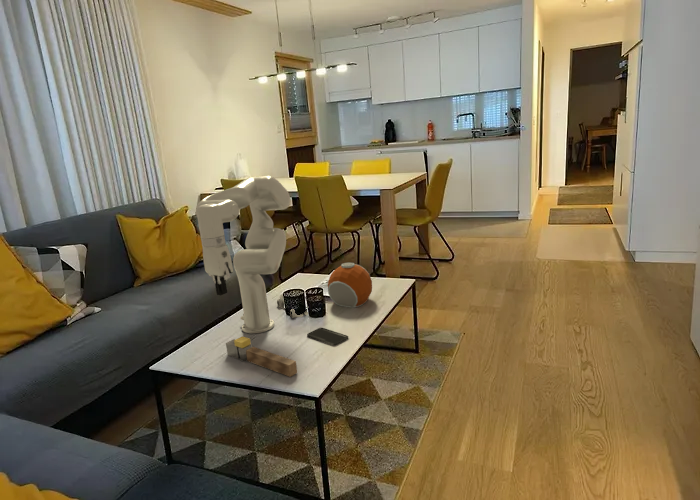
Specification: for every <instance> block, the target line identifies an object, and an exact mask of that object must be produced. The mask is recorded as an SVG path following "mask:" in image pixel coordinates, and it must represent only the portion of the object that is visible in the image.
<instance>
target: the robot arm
mask: <svg viewBox="0 0 700 500" xmlns="http://www.w3.org/2000/svg"><path fill="white" fill-rule="evenodd" d="M290 205H291V197H290V193H289V191H288V190H287V189H286V187H285V186H284V185H283V184H282V183H281V182H280V181H279V180H278V179H276V178H275V177H274V176H271V175H264V176H263V175H262V176H251V177H250V176H249V177H247V178H245V179H243V180H242V181H241V182H239V183H238V184H236V185H234V186H233V187H230V188H227V189H224V190H221V191H218V192H215V193H213V194H210V195H208V196H206V197H204V198H203V199H202V200H200V201H199V202H198V203H197V205H196V209H195V214H196V215H195V216H196V217H197V223H198V228H199V235H200V240H201V246H202V257H203V267H204V271H205V273H207V275H208V276H209V277H211V278H212V281H213V283H214V286H215V293H216V295H217V296H223V295H226V294H227V293H228V287H227V281H228V280H230V279H231V274H232V273H234V270H235V274H236V276H237V281H238V285H239V291H240V297H241V304H242V305H241V306H242V311H243V314H242V315H241V316H240V320H241V321H243V324H242V326H241V331H243V332H244V333H246V334H260V333H264V332H267V331H270V330H271V329H273V328H274V326H275V321H274V320H273V319H271V318H270V312H269V305H268V297H267V290H266V284H265V281H264V278H263V276H261V275H272V274H275V273H277V271H278V270H279V268H280V266H281V262H282V260H283V256H284V253H285V251H286V247H287V235H286V233H285V232H284V230H283V229H282V228H278V227H274V221H273V219H272V218H271V216H270V215H269V214H268V213H267V211H279V210H281V211H283V210H286V209H288V208H289V206H290ZM247 207H249V209H250V212H251V216H252V222H251V225H250V228H249V230H248V232H247V235H246V238H245V242H244V245H245V249H241V250H239V251H237V252H236V253H234V256H233V259H232V258H231V257H232V256H231V253H230V250H229V247H228V245H227V244H226V243H227V242H226V236H225V231H224V225H223V224H224V223H230V222H233V221H235V220H236V219H237V218H238V217H239V213H240V210H242V209H246V208H247Z"/></svg>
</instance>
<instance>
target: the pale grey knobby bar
mask: <svg viewBox="0 0 700 500" xmlns="http://www.w3.org/2000/svg"><path fill="white" fill-rule="evenodd" d="M283 294H284V293H283ZM283 294H280V295H279V298H278V299H277V300H276V304H277V307H278V308H280V309H282V310H285V308H284V300H283ZM306 308H307V307H306ZM291 312H292V314H291ZM289 315H290V318H292V319H295V318H302V317H304V316H309V315H308V312H307V309H306V311H305V312H304V313H302V314H300V315H297V314H296V313H295V310H294V309H291V310H290V313H289Z"/></svg>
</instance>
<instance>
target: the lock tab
mask: <svg viewBox="0 0 700 500" xmlns="http://www.w3.org/2000/svg"><path fill="white" fill-rule="evenodd" d="M251 342H252V341H251V338H249V337H247V336H246V337H245V336H239V337H238V338H235V340H234V343H235V346H237V347H240V348H244V347H246V346H248V345H250V344H251V345H252V343H251Z"/></svg>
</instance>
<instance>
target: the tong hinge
mask: <svg viewBox="0 0 700 500" xmlns="http://www.w3.org/2000/svg"><path fill="white" fill-rule="evenodd" d="M234 340H236V338H233V339H231V340H229V341H227V342H225V347H226V348H225V349H226V354H227V356H229V357H232V358H234V359H236V360H240V362H248V360H247V354H246V350H248V349H250V348H251V347H253V346H252V343H251V344H250V345H248V346H246V347H244V348H240V347H237V346H235V343H234Z"/></svg>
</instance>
